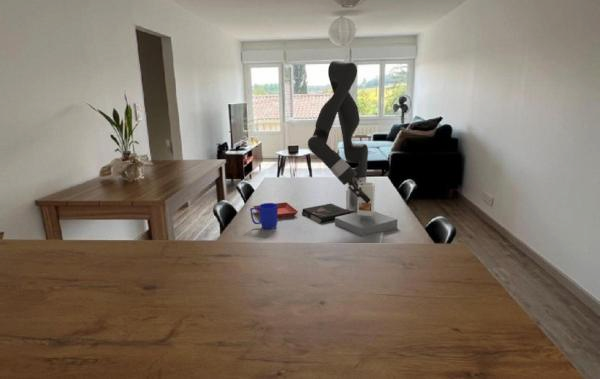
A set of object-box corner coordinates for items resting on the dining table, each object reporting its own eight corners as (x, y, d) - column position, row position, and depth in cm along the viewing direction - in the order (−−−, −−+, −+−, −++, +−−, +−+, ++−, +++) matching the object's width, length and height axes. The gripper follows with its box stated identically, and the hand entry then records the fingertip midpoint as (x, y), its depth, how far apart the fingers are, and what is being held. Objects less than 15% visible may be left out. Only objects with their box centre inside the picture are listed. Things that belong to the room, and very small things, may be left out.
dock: (334, 225, 166) (334, 217, 165) (368, 217, 176) (368, 209, 175) (362, 238, 151) (362, 228, 150) (397, 228, 162) (397, 219, 161)
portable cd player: (301, 216, 181) (301, 209, 180) (331, 211, 189) (331, 203, 188) (320, 226, 167) (319, 218, 166) (350, 219, 175) (350, 211, 174)
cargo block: (360, 212, 160) (360, 203, 160) (361, 209, 164) (362, 200, 163) (369, 212, 159) (370, 203, 158) (370, 210, 163) (371, 201, 162)
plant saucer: (286, 207, 196) (286, 201, 195) (298, 217, 179) (298, 211, 179) (252, 212, 190) (252, 205, 189) (262, 222, 173) (262, 216, 172)
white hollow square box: (357, 214, 160) (357, 185, 157) (359, 210, 166) (360, 182, 163) (372, 215, 158) (373, 186, 155) (373, 211, 164) (374, 182, 161)
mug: (251, 224, 170) (250, 203, 167) (278, 223, 171) (277, 202, 168) (250, 231, 162) (249, 209, 159) (278, 229, 163) (277, 207, 160)
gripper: (346, 168, 153) (374, 198, 152) (352, 162, 166) (378, 190, 165) (333, 180, 155) (361, 209, 155) (340, 174, 169) (365, 200, 168)
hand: (369, 199), depth 160 cm, fingers closed on white hollow square box, 6 cm apart
